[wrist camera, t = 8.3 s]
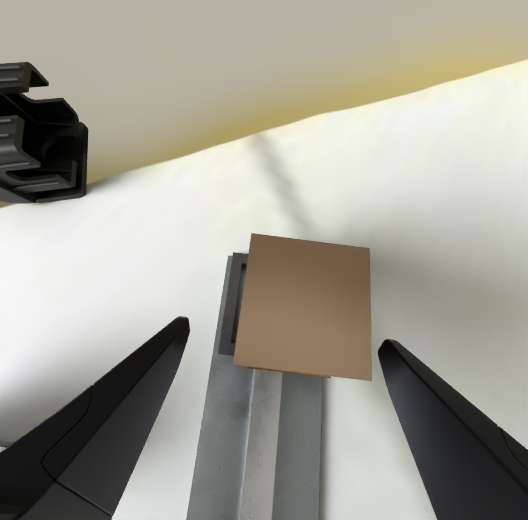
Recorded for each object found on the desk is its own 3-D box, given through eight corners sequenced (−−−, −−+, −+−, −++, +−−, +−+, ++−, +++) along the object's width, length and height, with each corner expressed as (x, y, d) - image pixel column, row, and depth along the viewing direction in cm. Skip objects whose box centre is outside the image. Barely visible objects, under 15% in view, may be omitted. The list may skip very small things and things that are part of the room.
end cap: (20, 130, 21) (-87, 48, 14) (89, 123, 22) (17, 42, 15) (9, 212, 19) (-124, 160, 12) (86, 201, 19) (0, 147, 13)
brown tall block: (293, 340, 16) (372, 405, 5) (246, 334, 16) (229, 388, 5) (297, 285, 17) (369, 248, 6) (253, 279, 17) (251, 233, 6)
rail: (311, 579, 13) (327, 656, 10) (181, 568, 13) (159, 643, 10) (321, 268, 19) (334, 261, 16) (229, 258, 18) (225, 248, 16)
